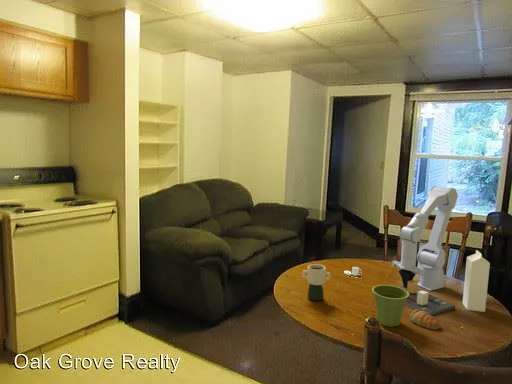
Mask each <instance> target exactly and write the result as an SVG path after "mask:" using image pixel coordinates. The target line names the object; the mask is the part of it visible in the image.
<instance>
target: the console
mask: <svg viewBox="0 0 512 384" xmlns="http://www.w3.org/2000/svg"><path fill="white" fill-rule="evenodd" d="M399 287H400V288H402V289H404V290H406V291H407V288H404V287H403V285H402V286H399ZM419 291H421V290H420V289H418V288H417V292H416V293H410V292H408V293H409V296H408V297H407V299H406V302H405V305H404V306H407V307H409V308H411V309H413V310H415V309H418V310H420V311H425V312H426V313H429V314H430V315H431V316H434V315H437V314H441V313H443V312H447V311H450V310H453V309H456V304H453V303H451V302H448V301H446V300H444V299H442V298H439V297H437V296H434V295H432V294H430V293H428V304H426V305H420V304H418V303H417V293H418V292H419Z"/></svg>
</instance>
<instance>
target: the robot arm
mask: <svg viewBox="0 0 512 384" xmlns="http://www.w3.org/2000/svg"><path fill="white" fill-rule="evenodd" d="M458 198H459V195H458V192H457V189H456V188H455V187H452V188H450V187H444V186H443V187H441V186H436V185H433V186H431V187H430V188H429V191H428V192H427V200H426V201H425V204H423V206H422V209H421V210H420V212H417V213H415V214H414V215H413V217H412V218H411V219H410V221H409V222H408V224H407V225H405V226H403V227H402V228H401V229H400V231H399V235H398V236H399V238H400V243H401V254H400V255H401V256H400V261H398V260H393V261H392V263H391V264H392V265H391V266H392V267H396V268H399V270H398V273H399V275H400V278H401V282H402V286H403V287H404V288H407V286H408V281H410V280H414V278H415V276H416V275H418V276H419V281H418V286H417V287H420V288H423V289H425V290H428V291H430V292H431V291H434V290H438V289H442V288H445V285H444V275H445V273H444V272H445V271H444V269H443V267H444V265H445V263H446V252H445V250H444V249H443V248H442V246H443V245H442V244H443V241H444V238H445V234H446V231H447V229H448V228H447V227H448V224H449V222H450V221H449V220H450V217H451V215H452V211H453V209H455V207H456V203H457V200H458ZM436 208H437V212H436V215H435V219H434V222H433V226H432V229H431V232H430V235H429V239H428V242H427V243H426V244H423V245H421V248H420V249H419V250H418V242H420V240H421V237H422V234H423V230H424V229H425V227H426V226H427V225H428V223H429V221H430V219H429V216H430V215H431V214H432V213H433V212H434V210H435V209H436ZM417 252H418V253H417ZM416 262H418V263H419V266H420V268H419V267H417V266H416V265H417V263H416Z"/></svg>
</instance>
